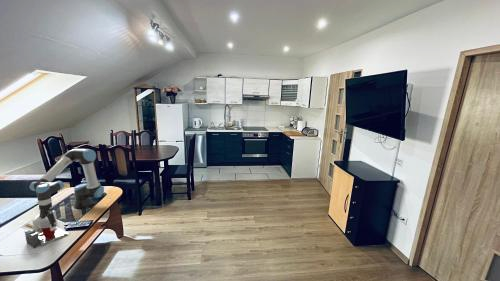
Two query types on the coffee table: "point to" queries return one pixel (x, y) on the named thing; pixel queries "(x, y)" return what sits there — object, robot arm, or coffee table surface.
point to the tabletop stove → (42, 237)
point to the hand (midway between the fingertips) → (48, 227)
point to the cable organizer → (38, 221)
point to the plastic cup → (47, 229)
